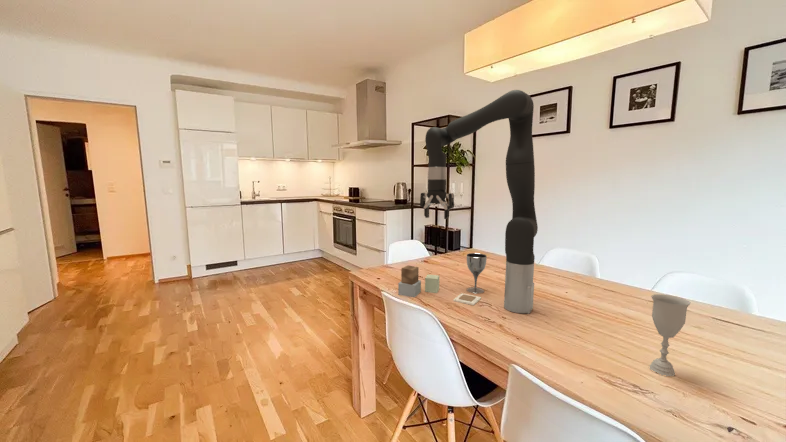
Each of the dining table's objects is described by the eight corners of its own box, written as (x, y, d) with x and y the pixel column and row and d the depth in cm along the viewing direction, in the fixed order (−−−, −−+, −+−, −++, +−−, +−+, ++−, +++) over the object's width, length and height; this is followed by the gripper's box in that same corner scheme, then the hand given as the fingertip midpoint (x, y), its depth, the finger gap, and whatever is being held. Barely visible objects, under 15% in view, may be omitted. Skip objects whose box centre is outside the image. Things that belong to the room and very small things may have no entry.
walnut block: (418, 281, 130) (418, 267, 130) (412, 284, 126) (412, 270, 125) (407, 279, 133) (407, 265, 132) (401, 282, 129) (401, 268, 128)
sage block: (439, 289, 136) (439, 275, 135) (437, 293, 131) (437, 279, 130) (427, 288, 137) (427, 274, 136) (424, 291, 132) (425, 277, 132)
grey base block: (420, 292, 132) (420, 280, 132) (414, 297, 126) (414, 285, 126) (405, 289, 135) (405, 278, 135) (398, 295, 129) (398, 283, 128)
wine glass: (483, 287, 138) (484, 253, 136) (486, 294, 130) (488, 257, 128) (464, 286, 138) (465, 252, 136) (466, 293, 131) (468, 257, 129)
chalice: (664, 362, 82) (672, 294, 79) (690, 378, 75) (699, 304, 73) (636, 362, 81) (643, 294, 79) (659, 379, 75) (668, 305, 72)
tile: (480, 298, 125) (481, 296, 125) (473, 305, 118) (473, 303, 118) (461, 294, 129) (461, 292, 129) (453, 300, 122) (453, 298, 122)
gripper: (457, 178, 130) (456, 218, 132) (425, 178, 137) (425, 216, 139) (449, 178, 123) (448, 220, 126) (417, 178, 131) (416, 218, 133)
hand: (436, 218), depth 132 cm, fingers open, 8 cm apart
